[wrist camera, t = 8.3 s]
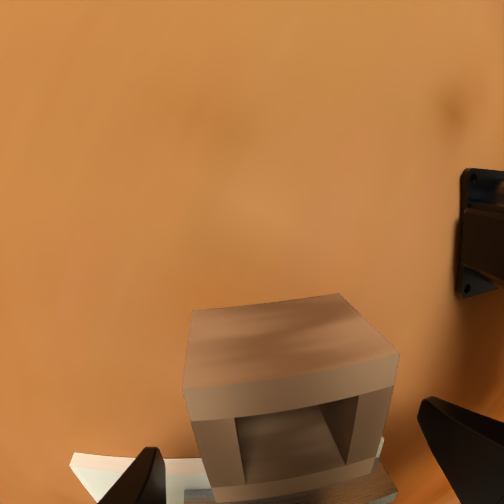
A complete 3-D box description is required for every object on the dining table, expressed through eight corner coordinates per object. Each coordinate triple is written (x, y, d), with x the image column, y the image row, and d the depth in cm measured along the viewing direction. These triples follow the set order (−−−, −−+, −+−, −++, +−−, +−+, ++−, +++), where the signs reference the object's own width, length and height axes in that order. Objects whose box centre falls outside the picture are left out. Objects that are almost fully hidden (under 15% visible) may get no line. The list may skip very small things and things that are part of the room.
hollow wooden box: (338, 293, 13) (400, 352, 8) (332, 402, 14) (370, 473, 9) (192, 311, 12) (181, 388, 7) (212, 420, 13) (216, 502, 9)
